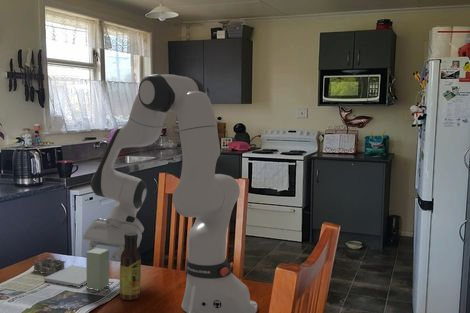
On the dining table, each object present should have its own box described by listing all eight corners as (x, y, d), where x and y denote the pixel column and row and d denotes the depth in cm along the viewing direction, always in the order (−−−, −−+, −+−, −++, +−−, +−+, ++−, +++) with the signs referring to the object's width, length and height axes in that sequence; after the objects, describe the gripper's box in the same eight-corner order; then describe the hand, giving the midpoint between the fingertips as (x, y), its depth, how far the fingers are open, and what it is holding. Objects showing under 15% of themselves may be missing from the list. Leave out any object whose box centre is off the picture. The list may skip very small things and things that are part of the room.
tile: (105, 273, 162) (105, 270, 162) (79, 287, 148) (79, 284, 148) (72, 268, 166) (72, 265, 166) (44, 281, 153) (44, 277, 153)
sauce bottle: (135, 302, 138) (135, 237, 137) (115, 300, 140) (116, 236, 138) (143, 294, 145) (144, 232, 143) (125, 292, 146) (125, 230, 144)
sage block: (108, 285, 151) (109, 249, 150) (99, 290, 146) (99, 254, 145) (96, 283, 153) (96, 247, 152) (86, 288, 148) (86, 252, 147)
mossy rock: (30, 270, 164) (30, 259, 163) (49, 265, 170) (49, 254, 170) (49, 276, 158) (49, 265, 158) (67, 270, 164) (67, 259, 164)
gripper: (90, 213, 161) (71, 248, 152) (141, 219, 154) (125, 256, 146) (98, 223, 165) (80, 257, 157) (148, 229, 158) (132, 265, 150)
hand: (102, 257), depth 151 cm, fingers open, 8 cm apart
